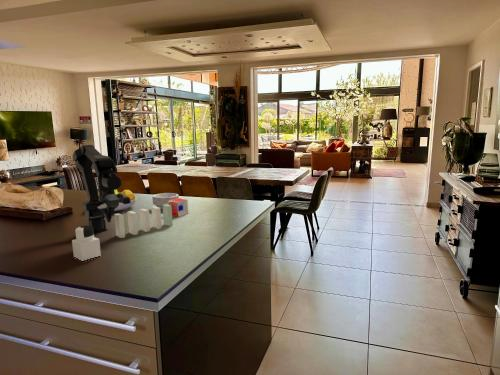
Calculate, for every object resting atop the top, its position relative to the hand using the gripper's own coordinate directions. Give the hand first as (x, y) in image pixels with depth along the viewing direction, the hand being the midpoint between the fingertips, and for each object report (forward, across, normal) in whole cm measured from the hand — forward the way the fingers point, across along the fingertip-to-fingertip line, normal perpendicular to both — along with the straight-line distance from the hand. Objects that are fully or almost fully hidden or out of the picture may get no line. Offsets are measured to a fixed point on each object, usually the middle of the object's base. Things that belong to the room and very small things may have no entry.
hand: (108, 222), depth 148 cm
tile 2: (+8, +10, 0) cm, 13 cm away
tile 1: (+8, +4, 0) cm, 9 cm away
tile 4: (+8, +22, 0) cm, 24 cm away
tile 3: (+8, +16, 0) cm, 18 cm away
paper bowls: (+8, +46, +32) cm, 57 cm away
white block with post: (+8, -15, -15) cm, 22 cm away
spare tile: (+8, +28, 0) cm, 29 cm away
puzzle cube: (+8, +43, +14) cm, 46 cm away
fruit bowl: (+8, +24, +54) cm, 59 cm away
